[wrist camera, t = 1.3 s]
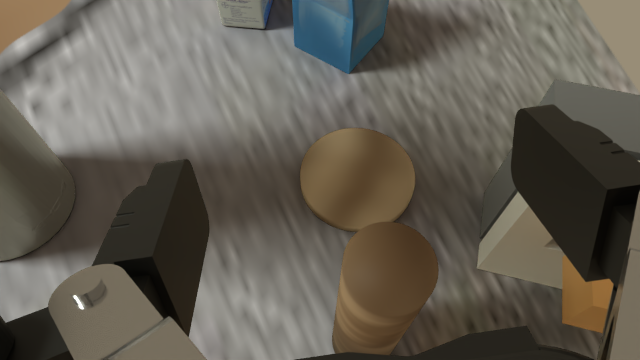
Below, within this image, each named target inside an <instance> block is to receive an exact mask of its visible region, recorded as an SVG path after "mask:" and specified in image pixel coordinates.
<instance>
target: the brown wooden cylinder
mask: <svg viewBox="0 0 640 360" xmlns="http://www.w3.org/2000/svg"><path fill="white" fill-rule="evenodd" d="M437 279H438V262H437V258H436V255H435V252H434V250H433V248H432V247H431V245H430V244H429V242H428V241H427V240H426V239H425V238H424V237H423V236H422V235H421V234H420V233H419V232H417V231H416V230H414V229H412V228H411V227H409V226H406V225H404V224H400V223H396V222H378V223H373V224H370V225H368V226H366V227H364V228H362V229H361V230H359V231H358V232H357V233H356V234H355V235H354V236H353V237H352V238H351V239H350V241H349V242H348V244H347V246H346V248H345V251H344V255H343V261H342V268H341V276H340V283H339V291H338V298H337V305H336V313H335V320H334V328H333V335H332V343H333V348H334V351H335V353H336V354H337V353H344V352H355V353H367V354H380V355H390V354H391V352H392V351H393V350H394V348H395V347H396V345H397V344H398V342H399V341H400V339H401V338H402V336H403V335H404V333H405V332H406V330H407V329H408V327H409V326H410V325H411V323H412V322H413V320H414V319H415V317H416V316H417V314H418V313H419V311H420V310H421V308H422V307H423V305H424V304H425V303H426V301H427V300H428V298H429V297H430V295H431V294H432V292H433V290H434V288H435V286H436V283H437Z"/></svg>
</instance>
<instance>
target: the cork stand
mask: <svg viewBox="0 0 640 360" xmlns="http://www.w3.org/2000/svg"><path fill="white" fill-rule="evenodd" d="M300 182H301V190H302V194H303V197H304V200H305V201H306V203H307V205H308V207H309V208H310V209H311V211H312V212H313V213H314V214H315V215H316V216H317V217H318V218H320V219H321V220H322V221H324V222H325V223H327V224H329V225H331V226H333V227H335V228H338V229H341V230H345V231H351V232H358V231H359V230H361V229H362V228H364V227H366V226H368V225H370V224H373V223H378V222H394V221H395V220H396V219H397V218H399V217H400V216H401V215H402V213H403V212H404V211H405V210H406V208H407V206H408V205H409V202H410V200H411V197H412V195H413V191H414V187H415V172H414V167H413V164H412V162H411V160H410V158H409V156H408V154H407V153H406V152H405V150H404V149H403V148H402V147H401V146H400V145H399V144H398V143H397V142H395V141H394V140H393V139H391V138H390V137H388V136H386V135H384V134H382V133H379V132H377V131H373V130H370V129H364V128H347V129H341V130H337V131H334V132H331V133H329V134H327V135H325V136H323V137H322V138H320V139H319V140H317V141H316V142H315V143H314V144H313V145H312V146H311V147H310V149H309V150H308V151H307V153H306V154H305V156H304V159H303V161H302V165H301V170H300Z"/></svg>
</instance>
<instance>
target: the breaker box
mask: <svg viewBox="0 0 640 360" xmlns="http://www.w3.org/2000/svg"><path fill="white" fill-rule="evenodd" d="M550 104H553V105H555V106H557V107H558V108H559V109H560V110H561V111H562V112H564V113H565V114H566V115H567V116H568V117H570V118H571V119H572V120H573V121H580V122H582V123H585V124H587V125H590V126H592V127H595V128H597V129H599V130H600V131H602V132H603V133H604V134H605V135H607V136H608V137H609V138H610V139H612V140H613V143H617V144H618V145H619V146H620V147H621V148H623V149H624V151H625V153H627V152H628V153H629V154H630V155H631V156H633V157H634V158H635V159H636V160H638V161H639V162H640V95H636V94H631V93H625V92H620V91H615V90H610V89H604V88H599V87H594V86H588V85H583V84H578V83H573V82H567V81H562V80H557V79H555V80H554V81H553V83H552V85H551V86H550V88H549V89H548V91H547V93H546V94H545V96H544V97H543V99H542V101H541V102H540V104H539V105H538V106H543V105H550ZM511 158H512V149H511V151H510V152H509V154H508V155H507V157H506V159H505V160H504V162H503V163H502V165H501V167H500V168H499V170H498V172H497V173H496V175H495V176H494V178H493V180H492V181H491V183H490V184H489V186H488V188H487V189H486V191H485V192H484V201H483V211H482V222H481V232H480V238H483V240H482V241H481V242H480V244H479V252H478V263H477V269H480V270H485V271H489V272H493V273H497V274H501V275H505V276H509V277H514V278H518V279H522V280H526V281H530V282H534V283H538V284H543V285H547V286H551V287H555V288H559V289H562V257H563V256H564V255H565V254H564V252H563V251H562V250H561V248H560V247H559V246H558V244H557V243H556V242H555V240H554V239H553V238H552V236H551V235H550V234H549V232H548V231H547V230H546V228H545V227H544V226H543V224H542V223H541V222H540V220H539V219H538V218H537V216H536V215H535V214H534V212H533V211H532V210H531V208H530V207H529V205H528V204H527V203H526V201H525V200H524V199H523V197H522V196H521V195H520V193H519V192H518V191H517V189H516V187H515V185H514V183H513V180H512V175H511Z"/></svg>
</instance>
